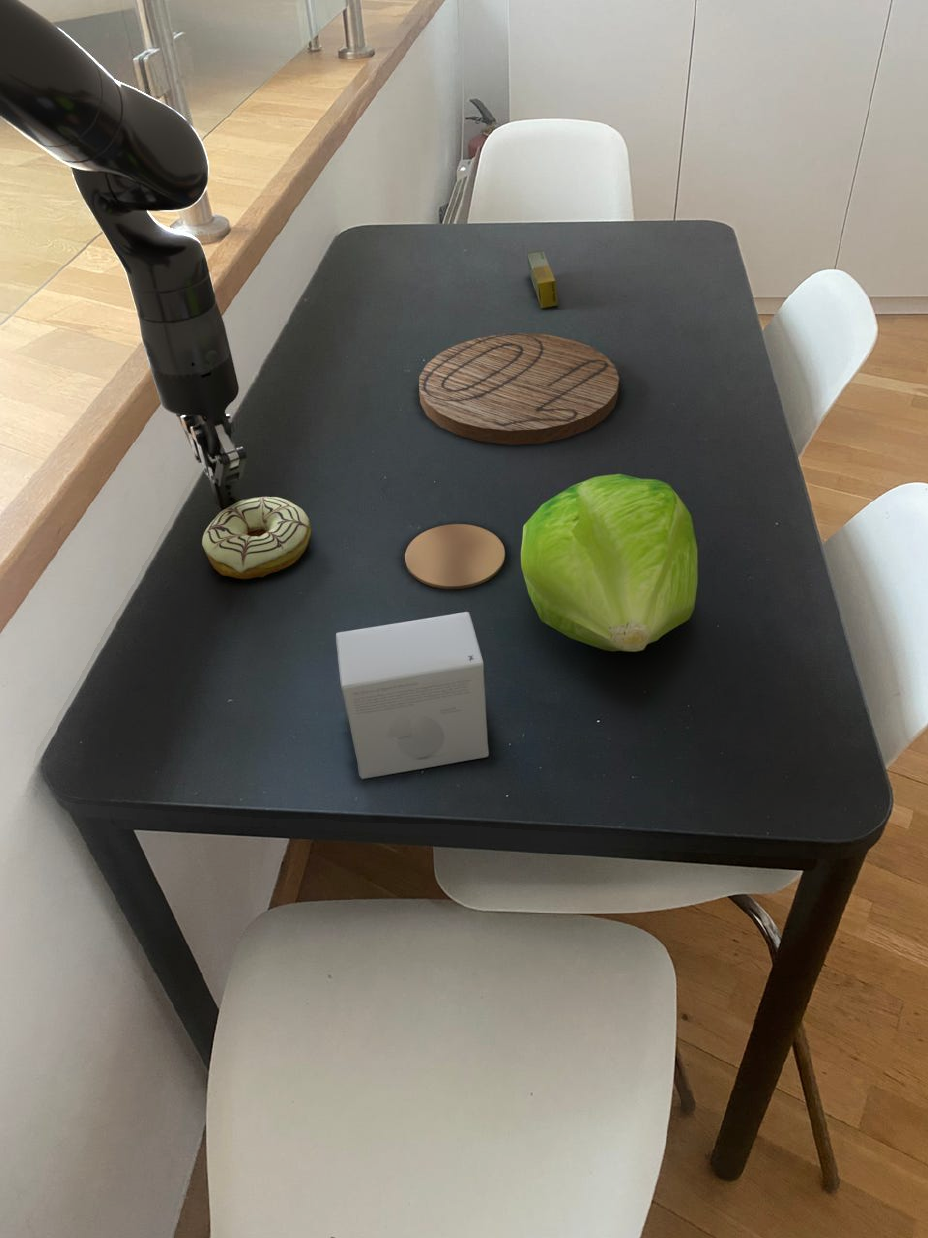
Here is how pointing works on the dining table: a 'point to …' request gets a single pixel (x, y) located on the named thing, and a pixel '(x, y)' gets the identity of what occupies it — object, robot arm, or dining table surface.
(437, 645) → the cosmetics box
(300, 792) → the dining table surface
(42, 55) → the robot arm
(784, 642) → the dining table surface
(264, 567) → the decorated donut
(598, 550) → the lettuce
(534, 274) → the medication box
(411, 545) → the cork coaster
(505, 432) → the trivet
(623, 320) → the dining table surface
